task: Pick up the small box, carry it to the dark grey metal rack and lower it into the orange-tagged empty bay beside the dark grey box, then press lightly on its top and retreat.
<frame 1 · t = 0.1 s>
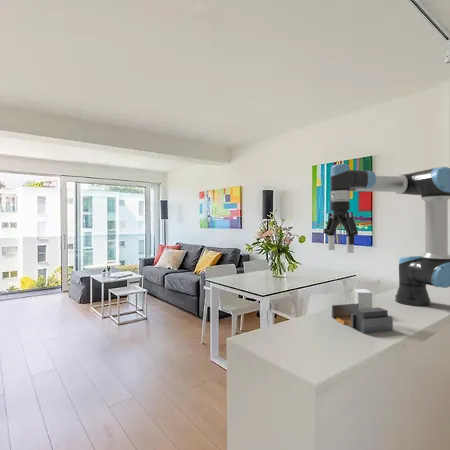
hand: (340, 251, 135), 28 cm above the table, fingers open, 13 cm apart
dark grey box: (371, 328, 116), resting on rack
rack: (360, 326, 122), on the table
small box: (363, 315, 137), on the table
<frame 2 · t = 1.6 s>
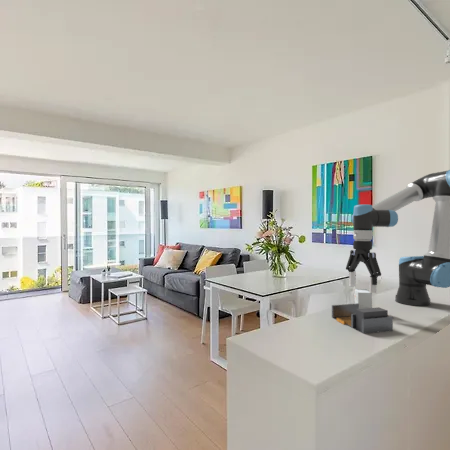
hand: (362, 289, 137), 11 cm above the table, fingers open, 13 cm apart
nothing on the table moved.
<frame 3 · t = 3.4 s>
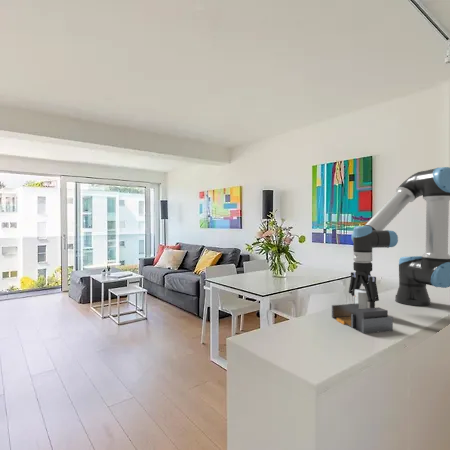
hand: (363, 313, 137), 1 cm above the table, fingers closed on small box, 9 cm apart
small box: (363, 315, 137), on the table, touching gripper
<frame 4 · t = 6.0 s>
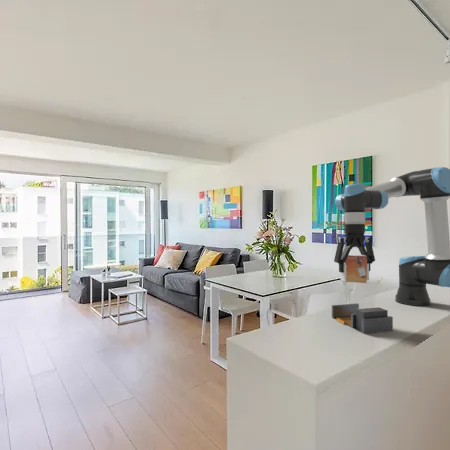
hand: (354, 280, 125), 17 cm above the table, fingers closed on small box, 9 cm apart
small box: (354, 282, 125), point 16 cm above the table, touching gripper
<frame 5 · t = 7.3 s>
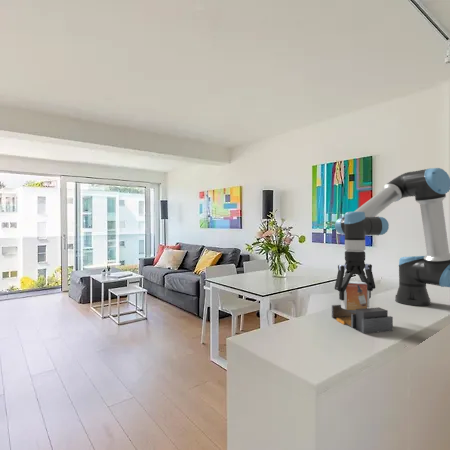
hand: (355, 307, 125), 6 cm above the table, fingers closed on small box, 9 cm apart
small box: (355, 309, 125), point 6 cm above the table, touching gripper
when the fingers open (3 cm above the table, at t = 8.5 s): small box drops 1 cm, resting on rack.
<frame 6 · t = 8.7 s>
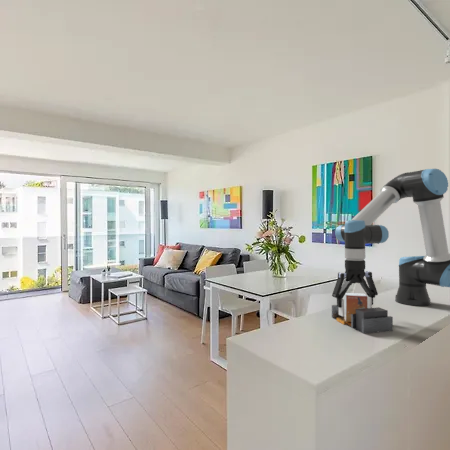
hand: (355, 314, 125), 4 cm above the table, fingers open, 11 cm apart
small box: (355, 321, 125), point 1 cm above the table, touching rack
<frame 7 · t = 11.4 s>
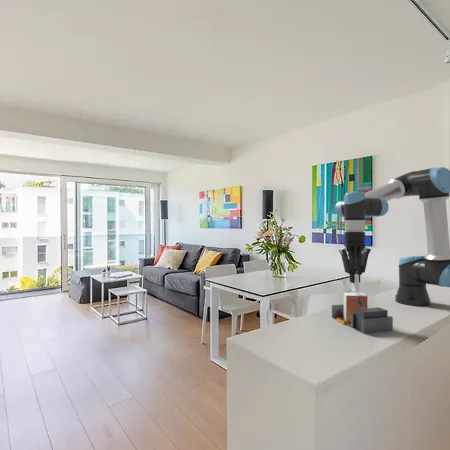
hand: (355, 290, 125), 13 cm above the table, fingers closed
nothing on the table moved.
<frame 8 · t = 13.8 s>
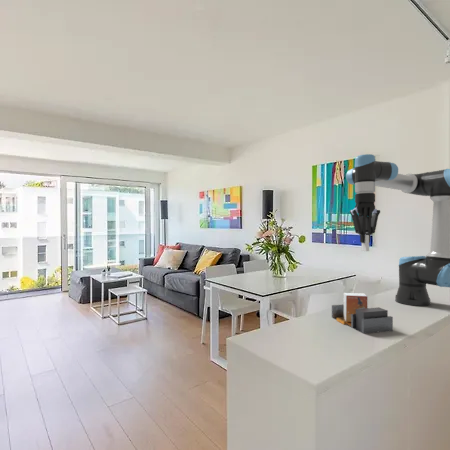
hand: (365, 250, 130), 28 cm above the table, fingers closed
nothing on the table moved.
at the end: small box inside the target area (0.0 cm from its centre), point 1.0 cm above the table; small box tilted 0°; the gripper is holding nothing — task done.
